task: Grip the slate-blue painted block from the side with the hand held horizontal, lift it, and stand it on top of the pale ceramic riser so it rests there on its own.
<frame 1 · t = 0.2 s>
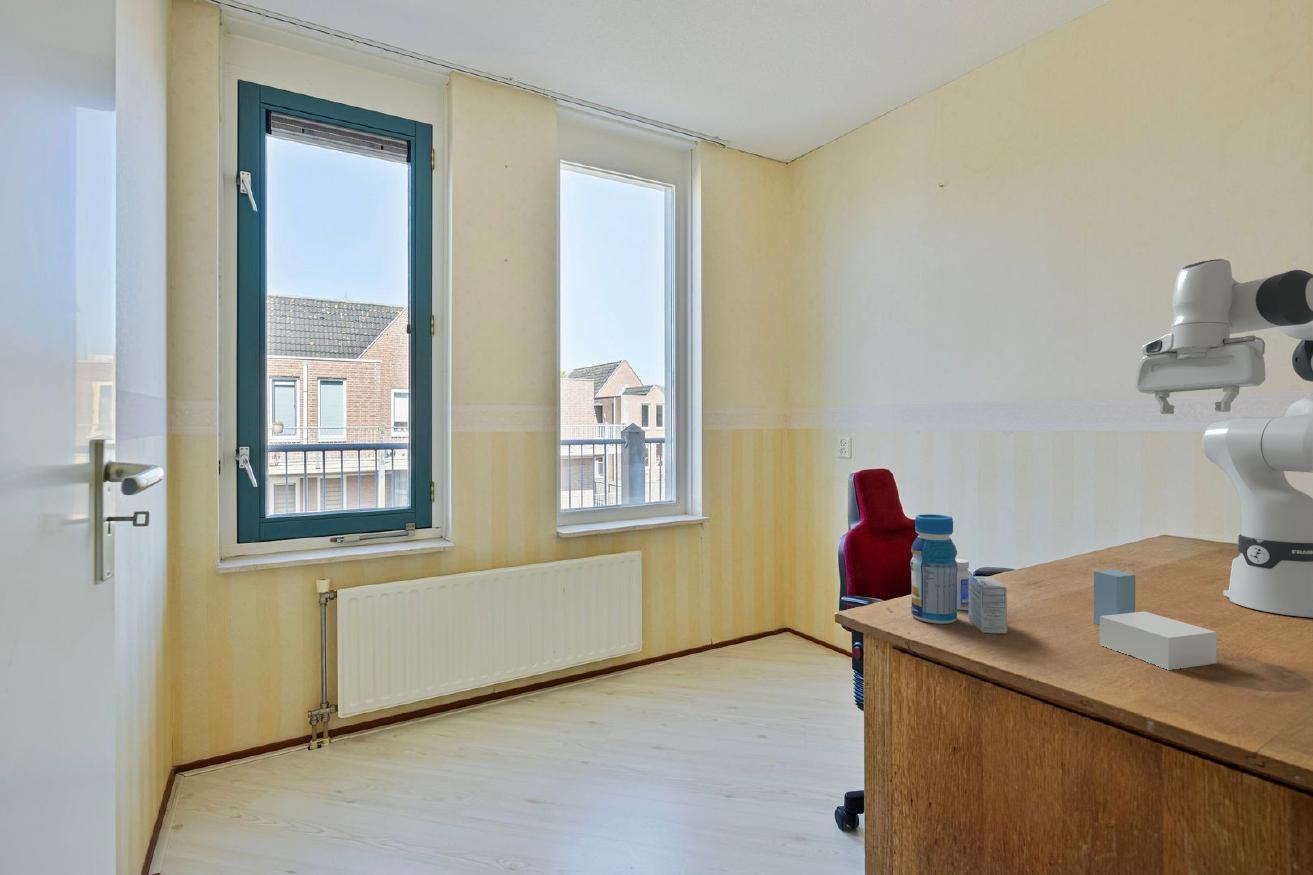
hand: (1193, 412, 118), 40 cm above the table, tool pointing down, fingers open, 8 cm apart
medicine box: (987, 628, 113), on the table
pill bottle: (958, 607, 126), on the table
block: (1114, 626, 113), on the table
riser: (1155, 653, 99), on the table
beverage bottle: (933, 619, 119), on the table
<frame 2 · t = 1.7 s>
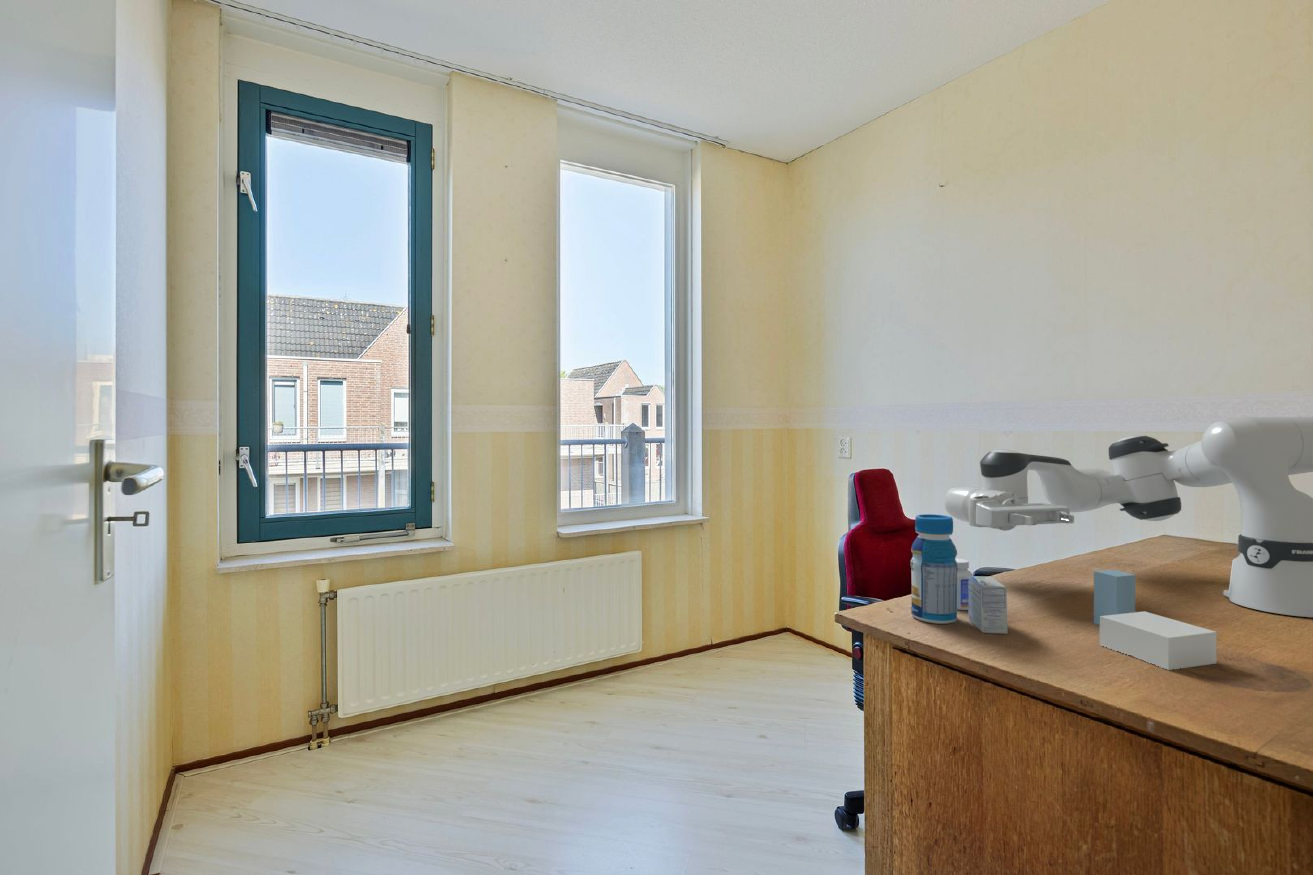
hand: (1052, 520, 126), 18 cm above the table, tool horizontal, fingers open, 8 cm apart
nothing on the table moved.
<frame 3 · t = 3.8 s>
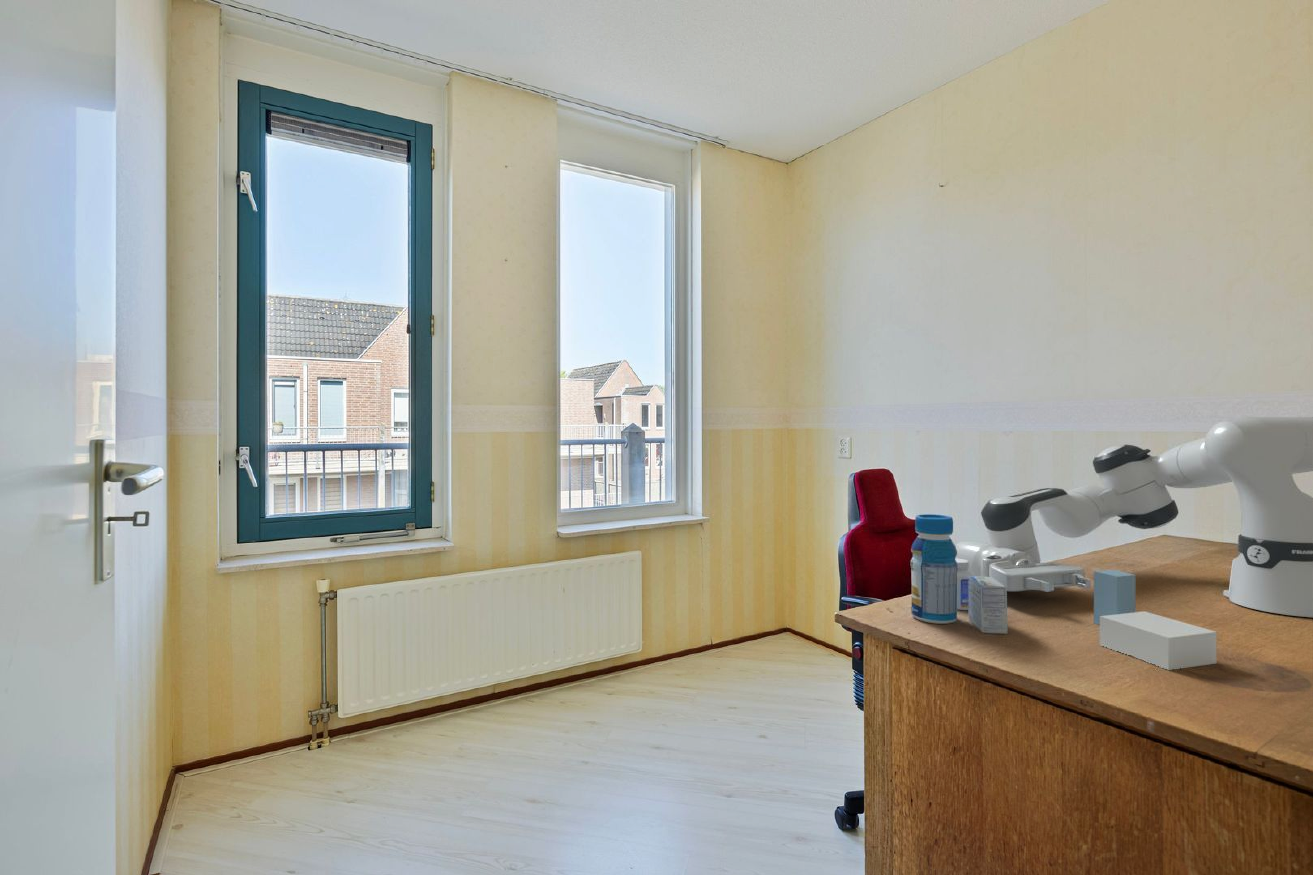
hand: (1070, 585, 122), 5 cm above the table, tool horizontal, fingers open, 8 cm apart
nothing on the table moved.
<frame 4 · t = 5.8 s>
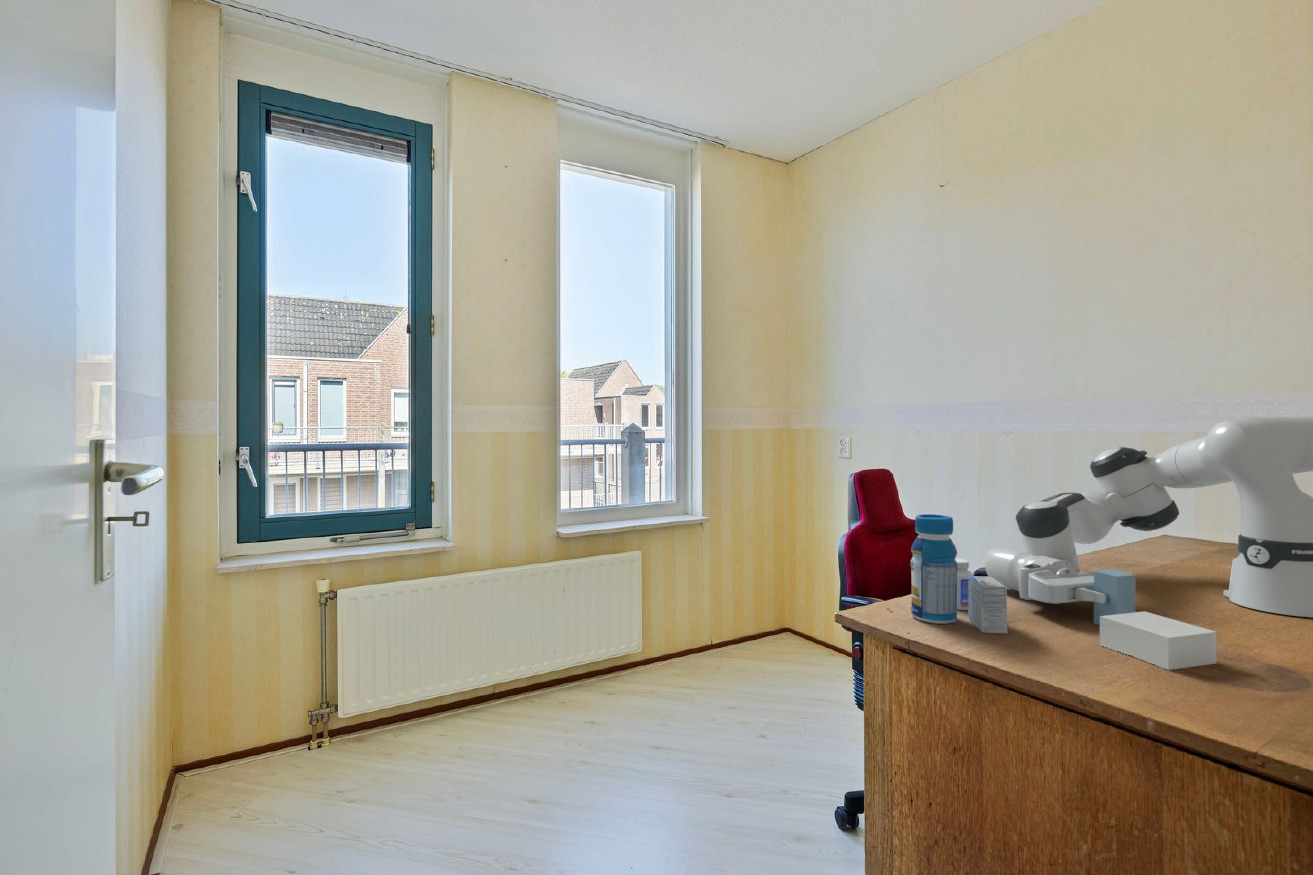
hand: (1119, 597, 112), 6 cm above the table, tool horizontal, fingers closed on block, 4 cm apart
block: (1114, 626, 113), on the table, touching gripper
everything else where it was.
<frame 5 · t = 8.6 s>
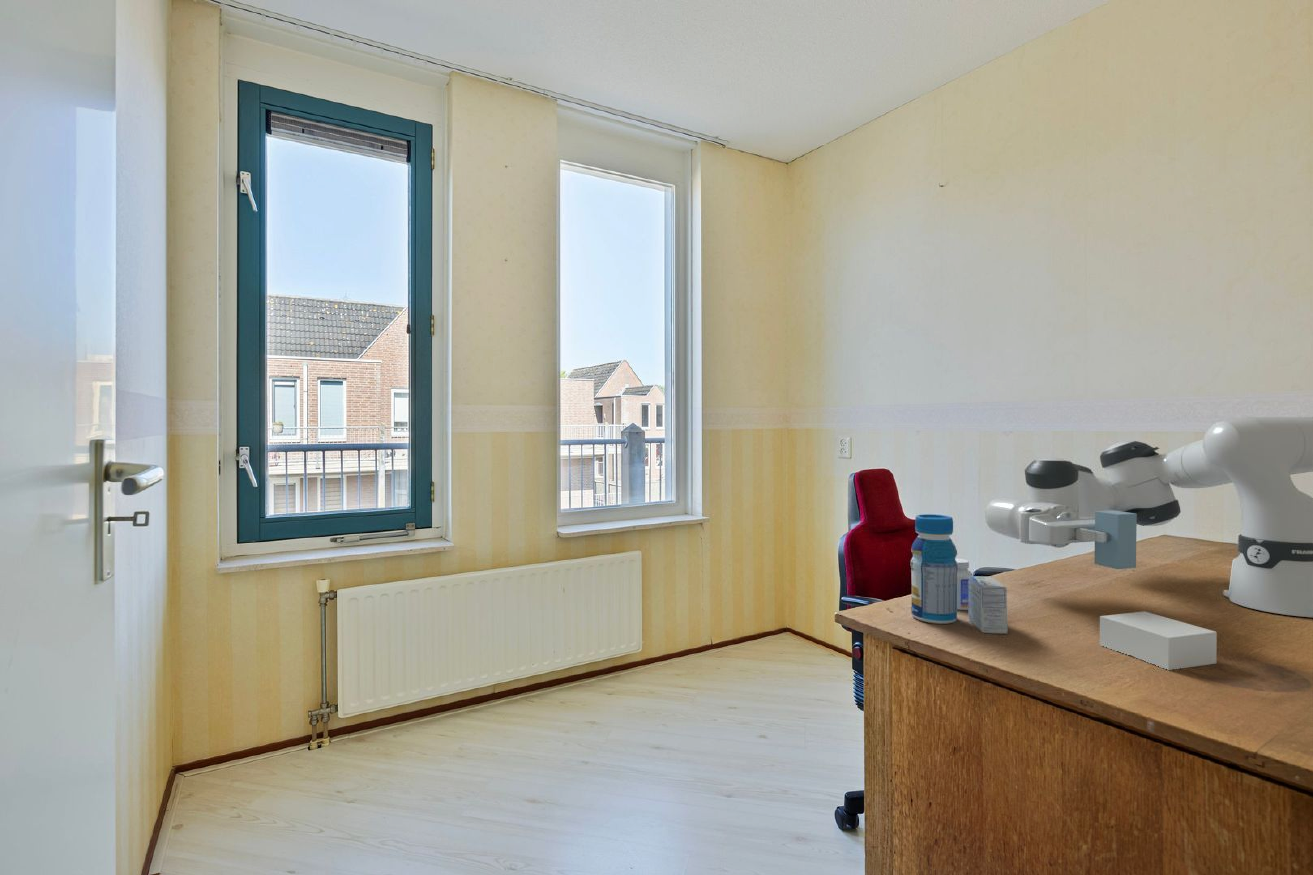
hand: (1119, 536, 112), 17 cm above the table, tool horizontal, fingers closed on block, 4 cm apart
block: (1114, 565, 113), point 11 cm above the table, touching gripper
everything else where it was.
when the fingers open (11 cm above the table, at t = 11.3 s): block stays where it is, resting on riser.
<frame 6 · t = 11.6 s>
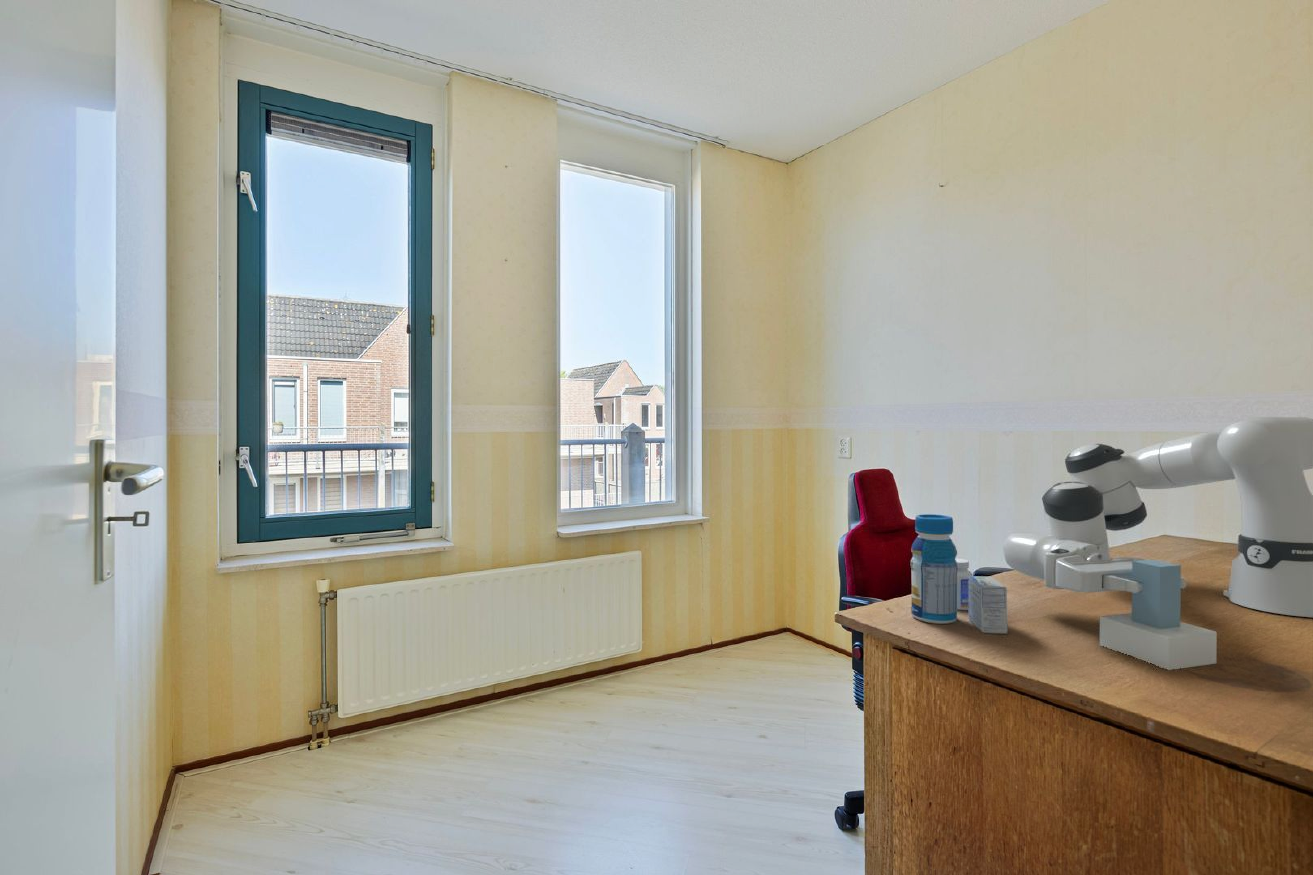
hand: (1161, 585, 98), 11 cm above the table, tool horizontal, fingers open, 8 cm apart
block: (1155, 623, 99), point 5 cm above the table, touching riser
everything else where it was.
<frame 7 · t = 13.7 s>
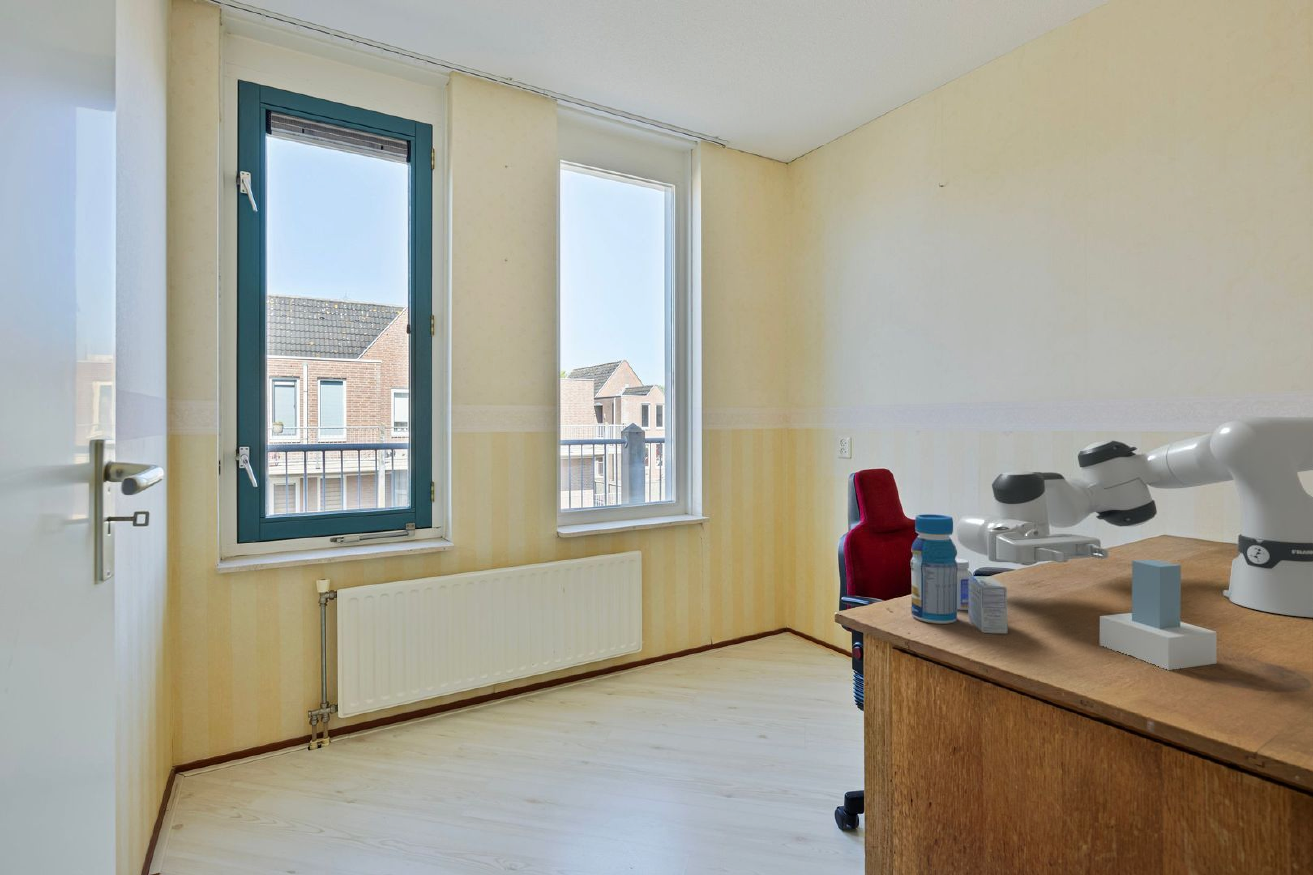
hand: (1085, 555, 111), 14 cm above the table, tool horizontal, fingers open, 8 cm apart
nothing on the table moved.
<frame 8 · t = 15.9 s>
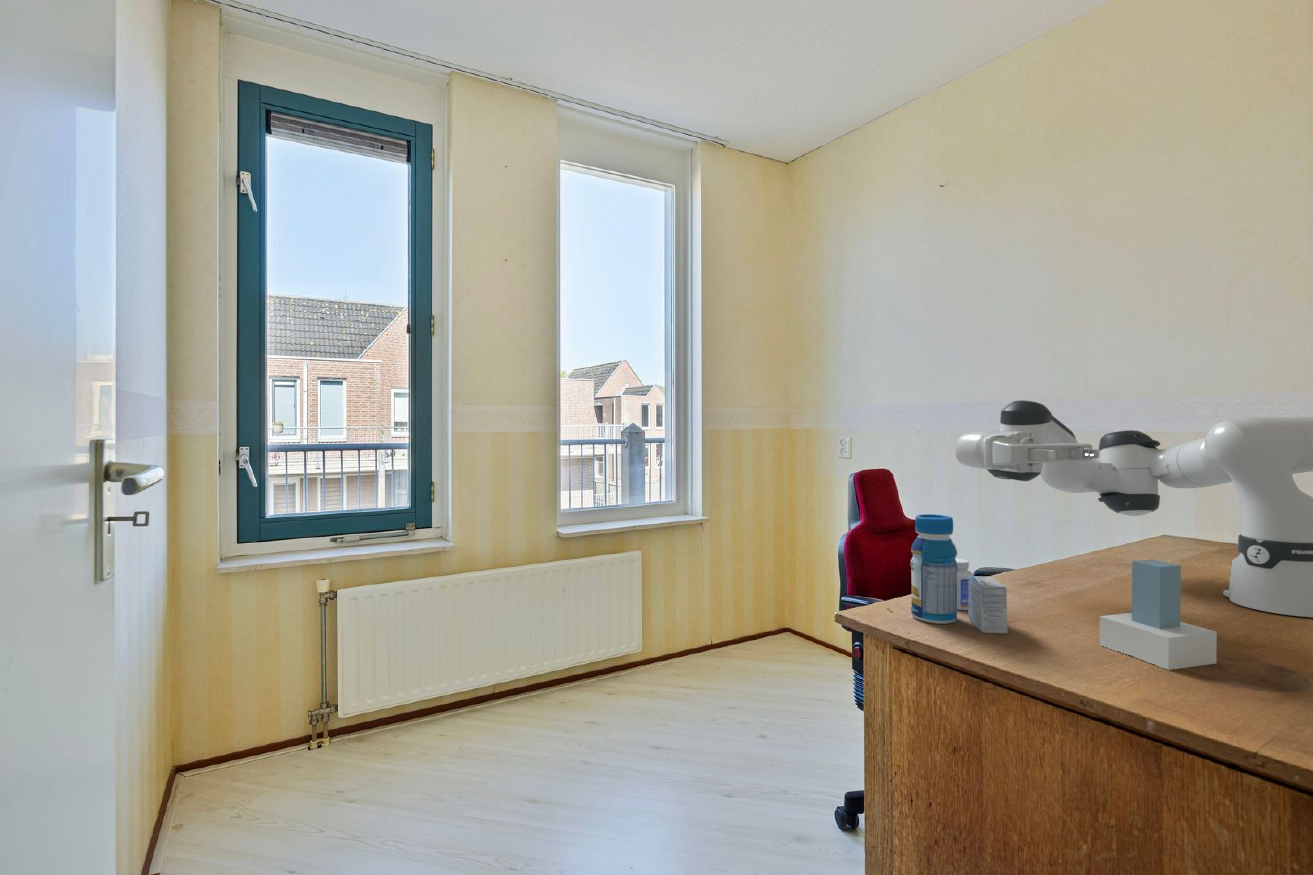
hand: (1077, 454, 117), 32 cm above the table, tool horizontal, fingers open, 8 cm apart
nothing on the table moved.
at the end: block 0.0 cm from the riser (horizontally); block touching riser; block tilted 0° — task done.
